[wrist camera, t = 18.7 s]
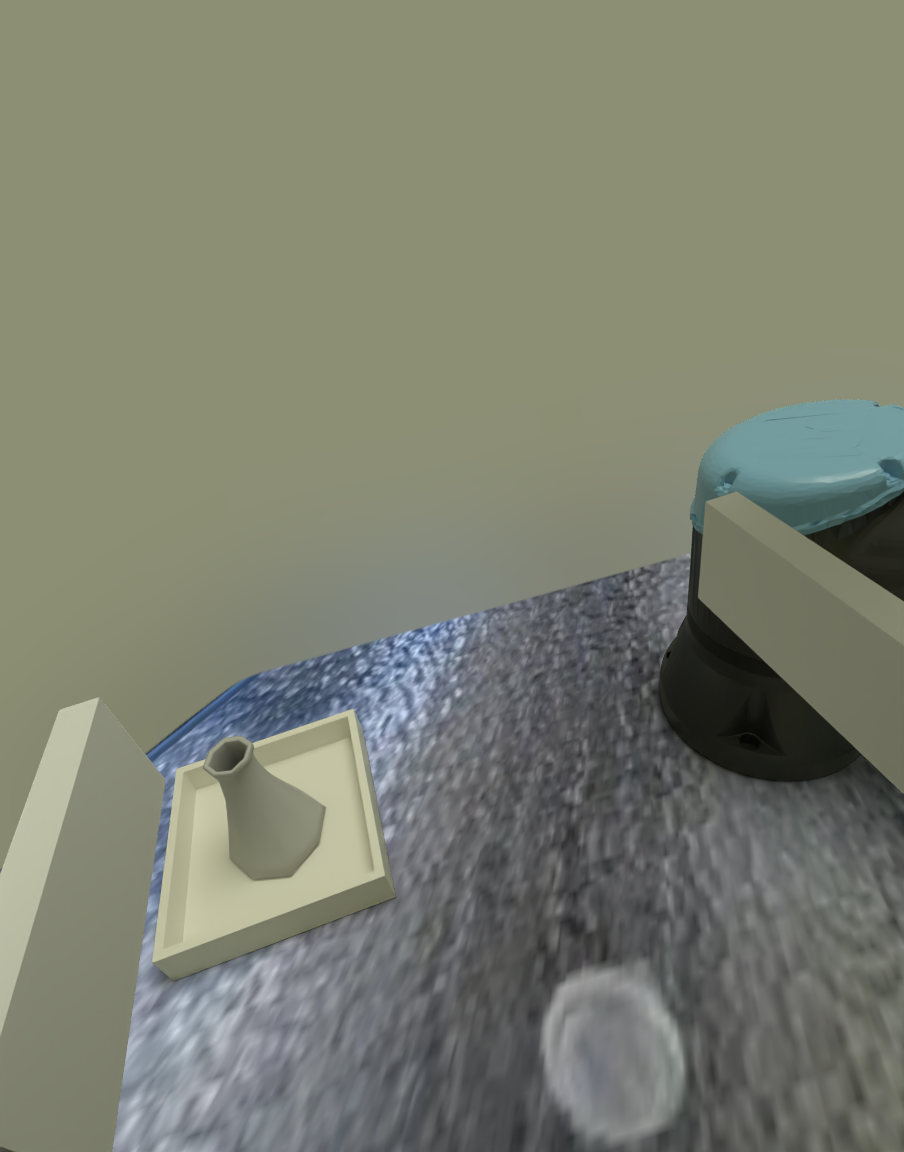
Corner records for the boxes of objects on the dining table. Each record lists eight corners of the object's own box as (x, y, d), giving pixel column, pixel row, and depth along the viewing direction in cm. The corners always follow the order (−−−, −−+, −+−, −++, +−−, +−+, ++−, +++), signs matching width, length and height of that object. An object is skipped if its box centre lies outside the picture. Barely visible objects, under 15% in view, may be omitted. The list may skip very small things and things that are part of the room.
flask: (266, 785, 50) (216, 706, 44) (342, 800, 47) (299, 719, 41) (214, 869, 44) (149, 793, 38) (296, 892, 42) (240, 814, 36)
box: (363, 730, 53) (353, 708, 51) (395, 896, 41) (385, 875, 39) (192, 789, 51) (176, 768, 50) (173, 981, 39) (152, 962, 37)
